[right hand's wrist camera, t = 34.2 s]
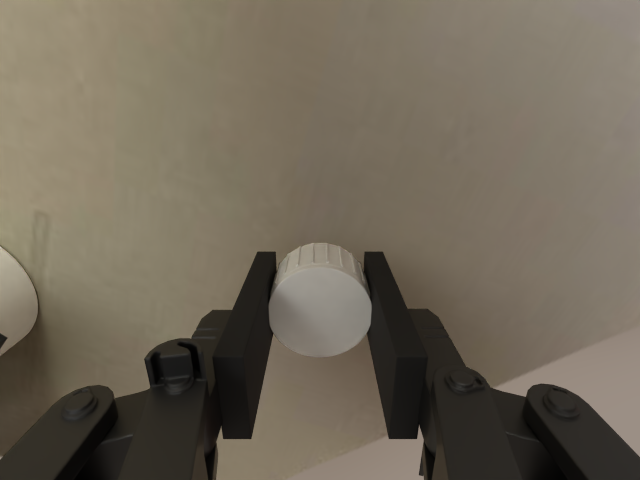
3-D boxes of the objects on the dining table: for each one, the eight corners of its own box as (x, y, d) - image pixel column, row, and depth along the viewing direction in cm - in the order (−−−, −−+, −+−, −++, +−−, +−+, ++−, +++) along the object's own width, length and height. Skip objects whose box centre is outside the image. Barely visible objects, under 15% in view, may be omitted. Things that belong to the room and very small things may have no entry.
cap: (261, 255, 14) (249, 282, 12) (352, 230, 14) (359, 253, 12) (290, 331, 16) (285, 369, 13) (375, 310, 15) (385, 345, 13)
